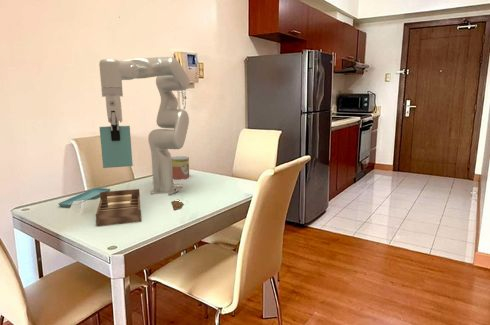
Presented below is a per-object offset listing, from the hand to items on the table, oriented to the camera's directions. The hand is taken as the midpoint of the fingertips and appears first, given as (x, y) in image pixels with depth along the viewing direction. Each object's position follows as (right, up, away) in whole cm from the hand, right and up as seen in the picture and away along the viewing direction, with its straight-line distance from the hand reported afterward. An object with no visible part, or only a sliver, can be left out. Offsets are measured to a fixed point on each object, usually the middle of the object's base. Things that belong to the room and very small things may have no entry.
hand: (116, 140), depth 136 cm
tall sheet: (0, -11, +2) cm, 11 cm away
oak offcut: (+1, -29, +1) cm, 29 cm away
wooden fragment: (+18, -29, +12) cm, 36 cm away
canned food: (+12, -18, +69) cm, 72 cm away
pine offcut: (+3, -30, -3) cm, 30 cm away
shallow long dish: (-23, -27, +26) cm, 44 cm away
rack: (+2, -31, -1) cm, 31 cm away
